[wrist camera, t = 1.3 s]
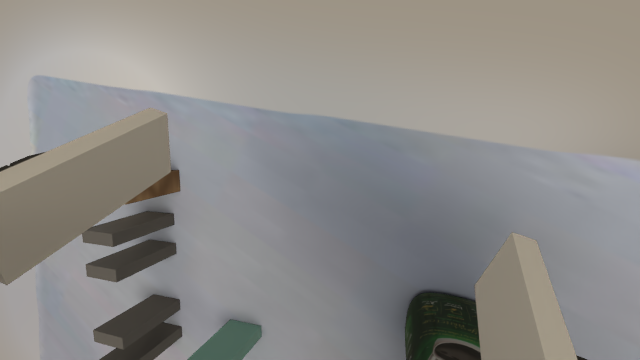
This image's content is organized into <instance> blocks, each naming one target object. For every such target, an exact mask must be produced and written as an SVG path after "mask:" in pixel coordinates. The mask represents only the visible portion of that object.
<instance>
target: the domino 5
mask: <svg viewBox="0 0 640 360" xmlns="http://www.w3.org/2000/svg"><path fill="white" fill-rule="evenodd" d="M260 338H261V326H259V325H254V324H249V323H245V322H240V321H235V320H231V319H230V320H229V321H228V322H227V323H226V324H225V325H224V326H223V327H222V328H221V329H220V330H219V331H218V332H217V333H215V334H214V335H213V336H212V337H211V338H210V339H209V340H208V341H207V342H206V343H205V344H204V345H203V346H201V347H200V348H199V349H198V350H197V351H196V352H195V353H194V354H193V355H192V356H191V357H190V358H189V359H187V360H242V359H243V358H244V357H245V355H246V354H247V353H248V352H249V351H250V350H251V348H252V347H253V346H254V345H255V344H256V342H257V341H258V340H259V339H260Z"/></svg>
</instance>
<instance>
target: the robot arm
mask: <svg viewBox="0 0 640 360" xmlns="http://www.w3.org/2000/svg"><path fill="white" fill-rule="evenodd" d="M170 172H171V164H170V149H169V134H168V118H167V113H164V112H161V111H159V110H156V109H153V108H149V109H146V110H144V111H141V112H139V113H137V114H134V115H132V116H130V117H127V118H125V119H123V120H120V121H118V122H116V123H113V124H111V125H109V126H106V127H104V128H102V129H99V130H97V131H95V132H92V133H90V134H87V135H85V136H83V137H80V138H78V139H76V140H73V141H71V142H69V143H66V144H64V145H62V146H59V147H57V148H55V149H52V150H50V151H48V152H44V153H40V154H35V155H31V156H27V157H25V158H23V159H20V160H18V161H15V162H13V163H11V164H10V166H7V165H6V166H4V167H1V168H0V282H1V283H3V284H6V285H8V284H10V283H11V282H12V281H14V280H15V279H17V278H18V277H20V276H21V275H23V274H24V273H25V272H27V271H28V270H30V269H31V268H33V267H34V266H36V265H37V264H39V263H40V262H41V261H43V260H44V259H46V258H47V257H49V256H50V255H52V254H53V253H54V252H56V251H57V250H59V249H60V248H62V247H63V246H65V245H66V244H67V243H69V242H70V241H72V240H73V239H75V238H76V237H78V236H79V235H80V234H82V233H83V232H85V231H86V230H88V229H89V228H91V227H92V226H93V225H95V224H96V223H98V222H99V221H101V220H102V219H104V218H105V217H107V216H108V215H109V214H111V213H112V212H114V211H115V210H117V209H118V208H120V207H121V206H122V205H124V204H125V203H127V202H128V201H130V200H131V199H133V198H134V197H135V196H137V195H138V194H140V193H141V192H143V191H144V190H146V189H147V188H148V187H150V186H151V185H153V184H154V183H156V182H157V181H159V180H160V179H161V178H163V177H164V176H166V175H167V174H169V173H170ZM475 297H476V308H477V319H478V330H479V341H480V351H481V360H587V359H584V358H582V357H579V356H577V355H576V354H575V351H574V348H573V345H572V342H571V339H570V336H569V333H568V331H567V328H566V325H565V322H564V319H563V316H562V313H561V310H560V307H559V305H558V302H557V299H556V296H555V293H554V290H553V287H552V284H551V282H550V279H549V276H548V273H547V270H546V267H545V264H544V261H543V258H542V256H541V253H540V250H539V247H538V244H537V241H536V240H533V239H530V238H527V237H525V236H522V235H519V234H516V233H513V232H512V233H511V234H510V236H509V237H508V239H507V240H506V242H505V243H504V244H503V246H502V247H501V249H500V250H499V252H498V253H497V254H496V256H495V257H494V259H493V260H492V262H491V263H490V264H489V266H488V267H487V269H486V270H485V272H484V273H483V274H482V276H481V277H480V279H479V280H478V282H477V283H476V284H475Z"/></svg>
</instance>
